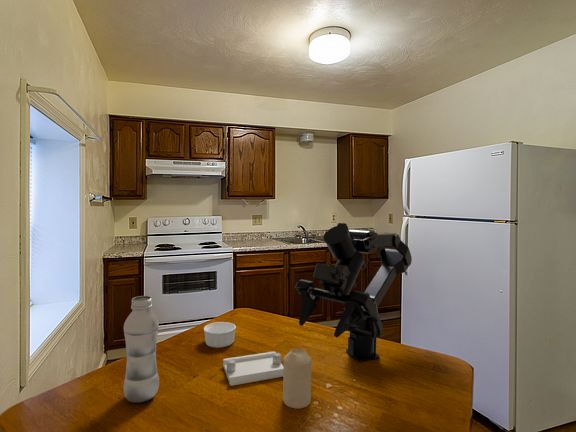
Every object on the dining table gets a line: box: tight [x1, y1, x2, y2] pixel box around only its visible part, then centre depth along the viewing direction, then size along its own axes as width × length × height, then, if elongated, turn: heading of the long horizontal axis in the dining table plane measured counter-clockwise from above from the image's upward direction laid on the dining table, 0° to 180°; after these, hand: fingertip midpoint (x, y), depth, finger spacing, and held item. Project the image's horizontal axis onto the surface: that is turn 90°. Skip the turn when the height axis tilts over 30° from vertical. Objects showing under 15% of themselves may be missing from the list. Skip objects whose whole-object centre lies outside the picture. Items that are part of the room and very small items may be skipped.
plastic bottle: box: [122, 295, 160, 404], centre depth 65 cm, size 6×7×20 cm
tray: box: [222, 350, 284, 387], centre depth 77 cm, size 13×9×3 cm
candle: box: [282, 348, 312, 410], centre depth 65 cm, size 6×6×10 cm
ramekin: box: [203, 321, 237, 349], centre depth 93 cm, size 9×9×4 cm
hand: (317, 330), depth 70 cm, fingers open, 9 cm apart
